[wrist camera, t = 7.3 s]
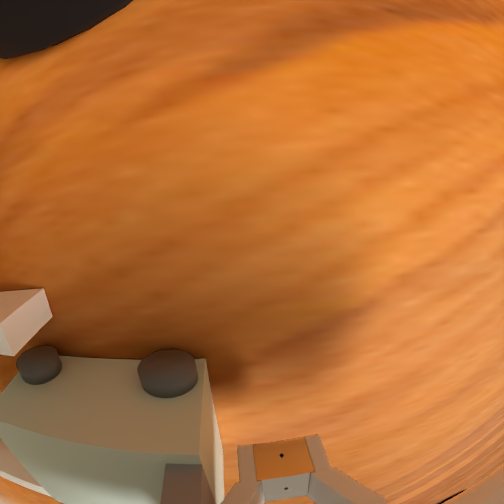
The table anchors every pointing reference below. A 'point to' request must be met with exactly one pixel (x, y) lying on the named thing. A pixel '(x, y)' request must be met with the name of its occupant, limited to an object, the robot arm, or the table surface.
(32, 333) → the dock bay
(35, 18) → the coffee jar
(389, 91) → the table surface
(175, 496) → the sage cart
